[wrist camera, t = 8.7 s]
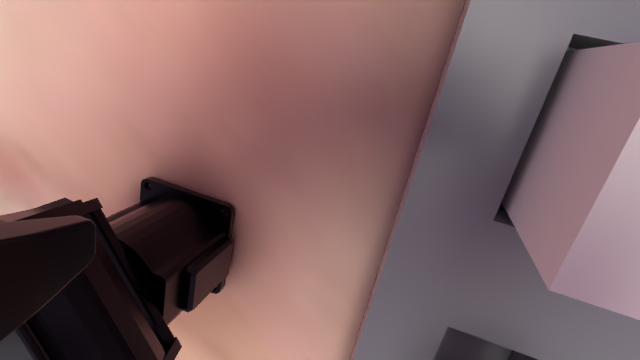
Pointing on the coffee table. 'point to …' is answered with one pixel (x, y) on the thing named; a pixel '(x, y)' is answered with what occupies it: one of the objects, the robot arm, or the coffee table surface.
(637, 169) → the pale pink plug
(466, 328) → the header
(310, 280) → the coffee table surface
